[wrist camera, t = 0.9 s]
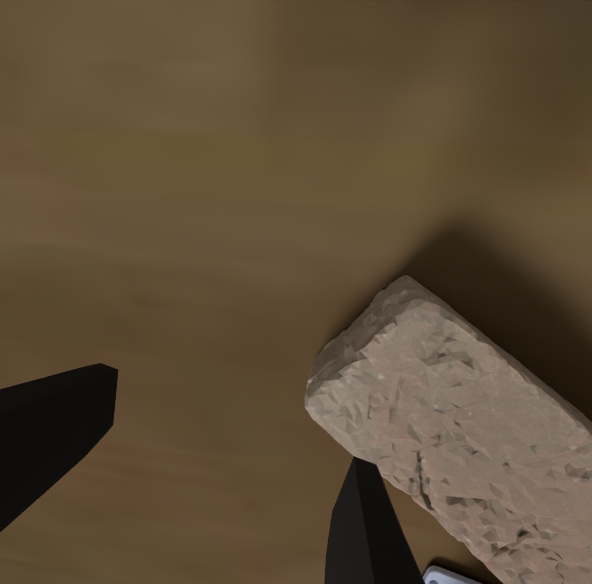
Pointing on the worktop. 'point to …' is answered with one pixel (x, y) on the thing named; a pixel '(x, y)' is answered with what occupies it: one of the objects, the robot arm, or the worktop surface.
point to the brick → (462, 434)
